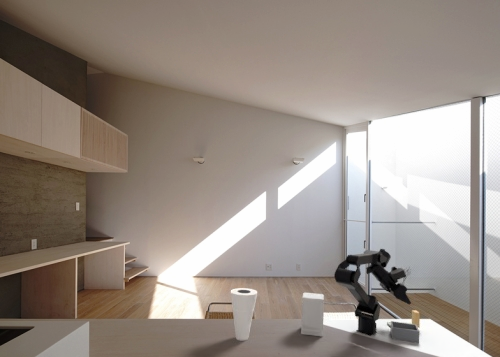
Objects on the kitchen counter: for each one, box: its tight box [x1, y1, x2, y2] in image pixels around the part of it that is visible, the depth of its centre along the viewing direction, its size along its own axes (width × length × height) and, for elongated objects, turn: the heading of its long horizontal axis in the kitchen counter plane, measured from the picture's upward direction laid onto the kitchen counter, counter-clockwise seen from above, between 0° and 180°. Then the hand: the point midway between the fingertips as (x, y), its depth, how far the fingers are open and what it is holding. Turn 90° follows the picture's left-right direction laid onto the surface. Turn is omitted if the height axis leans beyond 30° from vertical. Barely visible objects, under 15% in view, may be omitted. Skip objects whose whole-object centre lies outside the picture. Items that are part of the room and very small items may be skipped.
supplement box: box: [300, 292, 325, 337], centre depth 148 cm, size 9×9×15 cm
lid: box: [386, 309, 421, 329], centre depth 156 cm, size 12×8×8 cm
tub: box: [390, 320, 420, 344], centre depth 145 cm, size 10×8×5 cm
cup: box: [230, 287, 258, 342], centre depth 138 cm, size 11×11×18 cm
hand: (405, 300), depth 156 cm, fingers open, 9 cm apart
